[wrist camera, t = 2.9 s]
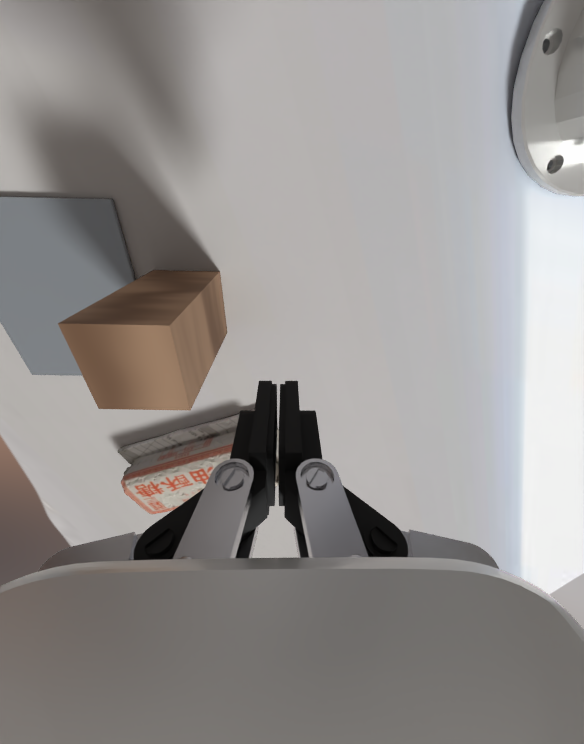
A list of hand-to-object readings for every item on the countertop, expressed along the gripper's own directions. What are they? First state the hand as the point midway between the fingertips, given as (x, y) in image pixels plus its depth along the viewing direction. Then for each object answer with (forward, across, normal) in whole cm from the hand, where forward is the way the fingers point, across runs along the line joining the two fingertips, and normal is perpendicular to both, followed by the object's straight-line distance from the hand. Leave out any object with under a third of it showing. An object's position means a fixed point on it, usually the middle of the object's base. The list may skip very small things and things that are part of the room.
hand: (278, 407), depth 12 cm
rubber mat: (+12, +17, -1) cm, 21 cm away
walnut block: (+12, +7, -1) cm, 14 cm away
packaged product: (+13, +8, +18) cm, 24 cm away
